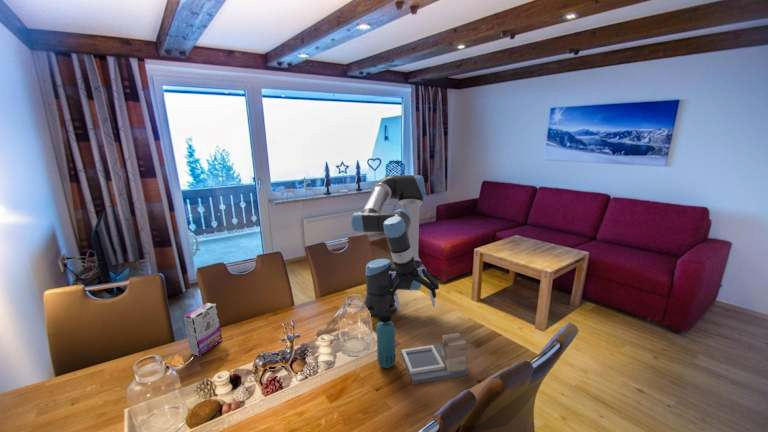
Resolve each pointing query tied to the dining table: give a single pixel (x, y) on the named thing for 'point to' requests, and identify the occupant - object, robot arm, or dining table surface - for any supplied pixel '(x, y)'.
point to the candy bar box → (203, 328)
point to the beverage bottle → (385, 340)
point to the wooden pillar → (453, 352)
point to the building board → (427, 364)
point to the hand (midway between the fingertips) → (416, 306)
